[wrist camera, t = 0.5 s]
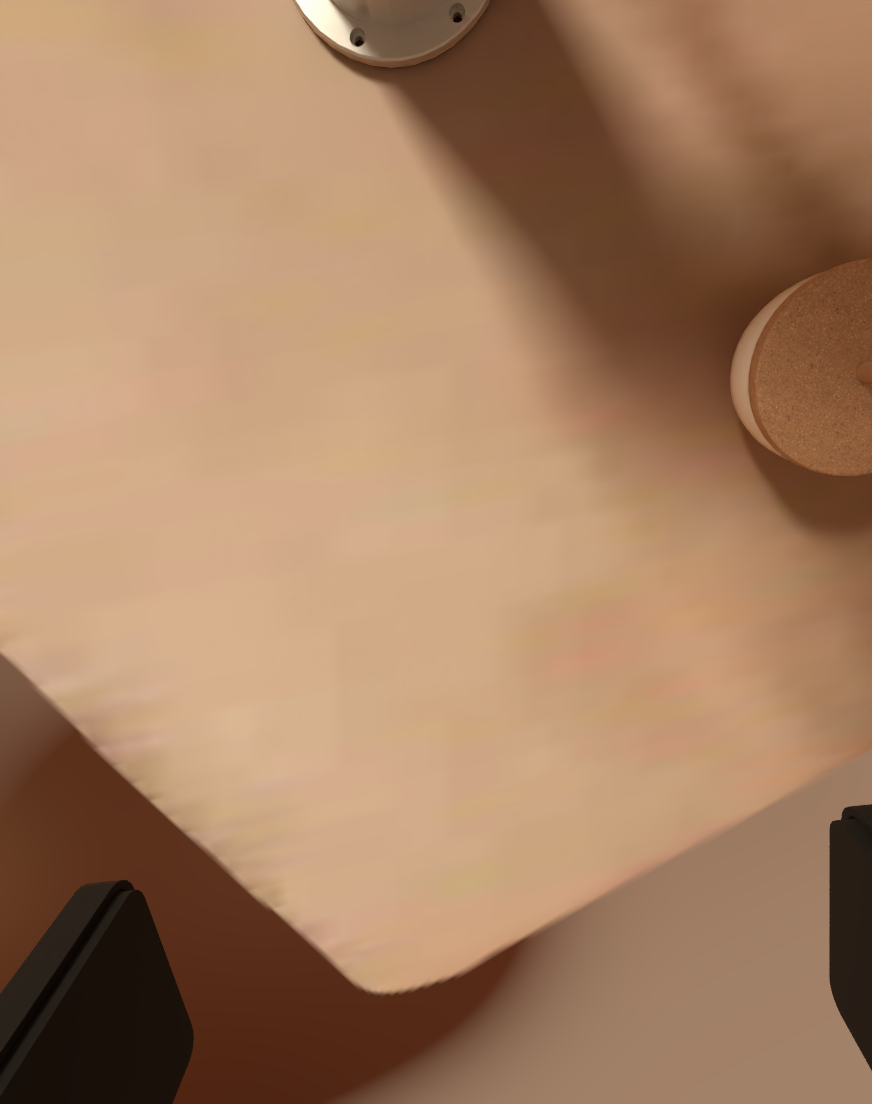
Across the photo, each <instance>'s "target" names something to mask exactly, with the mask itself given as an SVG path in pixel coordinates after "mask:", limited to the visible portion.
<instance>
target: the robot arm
mask: <svg viewBox="0 0 872 1104" xmlns="http://www.w3.org/2000/svg"><path fill="white" fill-rule="evenodd" d="M293 1H294V3H295V5H296V7H297V9H298V10H299V12H300V14H301V15H302V16H303V18H304V19H305V20H306V22H307V23H308V24H309V25H310V27H311V28H312V29H313V31H314V32H315V33H316V34H317V35H318V36H319V37H321V38H322V39H323V40H324V41H325V42H326V43H327V44H328V45H330V46H331V47H332V48H333V49H335V50H337V51H338V52H340V53H342V54H344V55H345V56H347V57H349V58H350V59H353V60H356V61H359V62H362V63H365V64H368V65H371V66H380V67H390V68H395V67H403V66H411V65H416V64H418V63H421V62H424V61H427V60H430V59H432V58H435V57H436V56H438V55H440V54H441V53H443V52H445V51H446V50H448V49H449V48H451V47H453V46H454V45H455V44H456V43H457V42H458V41H459V40H461V39H462V38H463V37H464V36H465V35H466V34H467V33H468V32H469V31H470V30H471V29H472V28H473V26H474V25H475V24H476V22H477V21H478V20H479V18H480V17H481V16H482V14H483V13H484V12H485V10H486V9H487V7H488V5H489V3H490V1H491V0H293ZM457 16H459V17H461V18H462V21H461V22H459V23H456V22H453V19H454V18H455V17H457ZM359 40H362V41H364V44H363V45H362V46H360V47H356V43H357V41H359ZM830 985H831V990H832V994H833V997H834V1000H835V1002H836V1005H837V1007H838V1010H839V1012H840V1014H841V1016H842V1018H843V1019H844V1021H845V1023H846V1025H847V1027H848V1029H849V1030H850V1032H851V1034H852V1036H853V1038H854V1039H855V1041H856V1043H857V1045H858V1047H859V1048H860V1050H861V1052H862V1054H863V1056H864V1057H865V1059H866V1061H867V1063H868V1065H869V1066H870V1068H871V1070H872V804H871V805H861V806H851V807H847V808H845V809H844V810H843V812H842V818H841V820H836V821H832V823H831V824H830ZM193 1040H194V1036H193V1028H192V1025H191V1022H190V1019H189V1016H188V1014H187V1011H186V1008H185V1006H184V1003H183V1000H182V998H181V995H180V992H179V989H178V987H177V984H176V981H175V978H174V976H173V973H172V970H171V967H170V965H169V962H168V959H167V957H166V954H165V951H164V948H163V946H162V943H161V940H160V937H159V935H158V932H157V930H156V927H155V924H154V921H153V918H152V916H151V913H150V910H149V908H148V905H147V902H146V899H145V897H144V895H143V893H142V892H141V891H139V890H135V889H134V887H133V886H132V884H131V883H130V882H128V881H127V880H119V881H109V882H99V883H89V884H85V885H83V886H82V887H80V888H79V889H78V890H77V891H76V892H75V893H74V895H73V896H72V898H71V899H70V900H69V902H68V903H67V904H66V906H65V907H64V909H63V910H62V911H61V913H60V914H59V915H58V917H57V918H56V920H55V921H54V922H53V923H52V925H51V926H50V927H49V929H48V930H47V932H46V933H45V934H44V936H43V937H42V938H41V940H40V941H39V943H38V944H37V945H36V946H35V948H34V949H33V951H32V952H31V953H30V955H29V956H28V957H27V959H26V960H25V961H24V963H23V964H22V965H21V967H20V968H19V969H18V971H17V972H16V974H15V975H14V977H13V978H12V979H11V980H10V982H9V983H8V984H7V986H6V987H5V988H4V990H3V991H2V993H1V994H0V1104H172V1103H173V1101H174V1098H175V1096H176V1093H177V1091H178V1088H179V1086H180V1083H181V1081H182V1078H183V1076H184V1073H185V1071H186V1068H187V1066H188V1063H189V1061H190V1057H191V1054H192V1049H193Z"/></svg>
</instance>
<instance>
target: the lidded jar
mask: <svg viewBox="0 0 872 1104" xmlns="http://www.w3.org/2000/svg"><path fill="white" fill-rule="evenodd" d="M730 389H731V396H732V401H733V404H734V407H735V410H736V413H737V415H738V416H739V418H740V420H741V422H742V424H743V425H744V426H745V427H746V429H747V430H748V431H749V432H750V434H751V435H752V436H753V437H754V438H755V439H756V440H757V441H758V442H759V443H761V444H762V445H763V446H764V447H766V448H767V449H768V450H770V451H772V452H773V453H775V454H777V455H778V456H780V457H782V458H784V459H787V460H789V461H791V462H793V463H794V464H796V465H798V466H800V467H803V468H805V469H808V470H811V471H813V472H816V473H821V474H826V475H831V476H846V477H851V476H860V475H867V474H871V473H872V258H864V259H859V260H855V261H851V262H848V263H845V264H841V265H838V266H835V267H833V268H831V269H829V270H826V271H824V272H821V273H818V274H815V275H813V276H811V277H809V278H806V279H804V280H802V281H800V282H798V283H796V284H794V285H793V286H791V287H789V288H788V289H786V290H785V291H783V292H782V293H780V294H779V295H777V296H776V297H775V298H774V299H773V300H771V301H770V302H769V303H768V304H767V305H766V306H765V307H763V308H762V309H761V310H760V311H759V313H758V314H757V315H756V316H755V317H754V318H753V319H752V320H751V322H750V323H749V325H748V326H747V328H746V329H745V331H744V332H743V334H742V336H741V338H740V341H739V343H738V345H737V347H736V350H735V353H734V357H733V360H732V366H731V372H730Z"/></svg>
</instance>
